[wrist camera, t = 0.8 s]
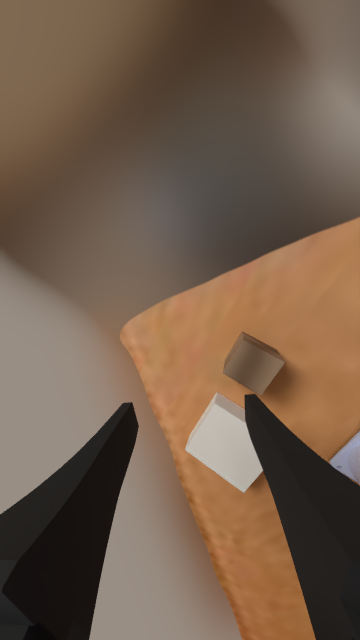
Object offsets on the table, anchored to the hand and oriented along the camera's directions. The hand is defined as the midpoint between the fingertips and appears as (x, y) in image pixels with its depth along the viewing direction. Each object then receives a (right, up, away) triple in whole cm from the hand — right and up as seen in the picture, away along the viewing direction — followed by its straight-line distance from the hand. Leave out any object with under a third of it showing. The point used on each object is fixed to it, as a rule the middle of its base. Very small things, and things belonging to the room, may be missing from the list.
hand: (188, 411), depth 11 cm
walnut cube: (+10, +1, +14) cm, 17 cm away
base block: (+8, -12, +17) cm, 22 cm away
